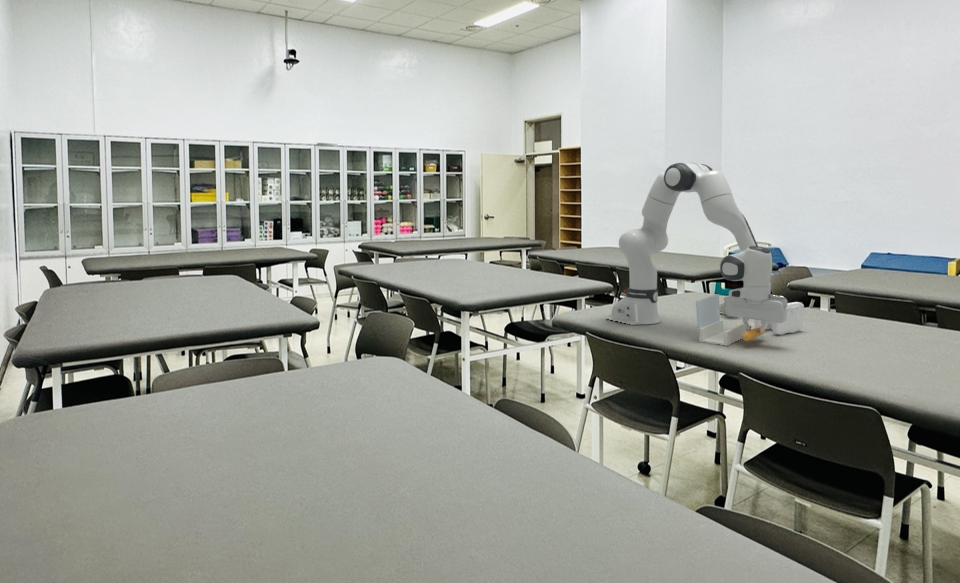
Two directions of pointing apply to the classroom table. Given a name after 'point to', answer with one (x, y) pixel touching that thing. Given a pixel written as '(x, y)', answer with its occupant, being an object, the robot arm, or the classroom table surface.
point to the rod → (752, 334)
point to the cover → (708, 311)
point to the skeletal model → (724, 305)
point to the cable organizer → (787, 320)
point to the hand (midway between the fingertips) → (754, 331)
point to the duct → (720, 334)
